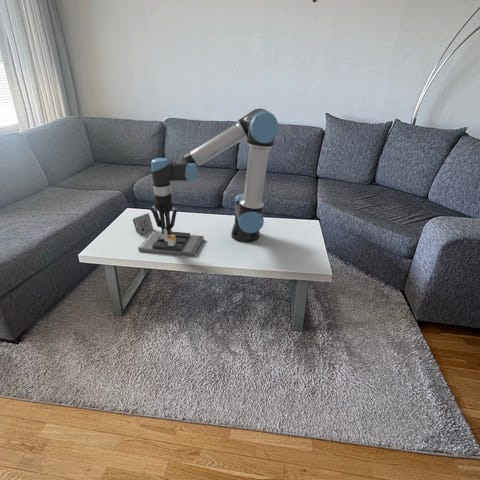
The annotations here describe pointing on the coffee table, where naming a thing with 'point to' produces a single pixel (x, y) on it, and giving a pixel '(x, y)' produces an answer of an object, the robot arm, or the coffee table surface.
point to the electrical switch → (143, 223)
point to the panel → (183, 252)
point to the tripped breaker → (171, 240)
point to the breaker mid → (161, 234)
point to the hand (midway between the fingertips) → (167, 240)
